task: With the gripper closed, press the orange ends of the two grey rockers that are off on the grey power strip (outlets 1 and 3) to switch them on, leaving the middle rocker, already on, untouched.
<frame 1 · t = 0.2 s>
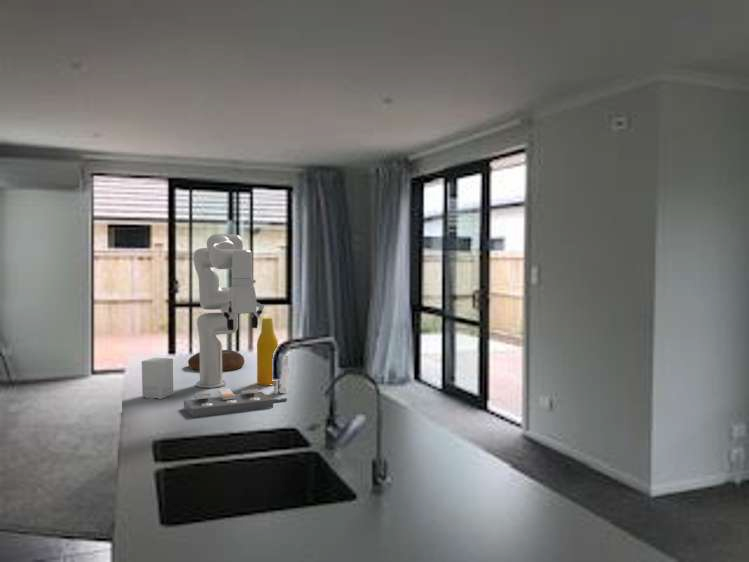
hand: (242, 328, 233), 30 cm above the worktop, tool pointing down, fingers open, 9 cm apart
outlet 1 rocker: (249, 390, 243), point 5 cm above the worktop, hinge at -14.0°
power strip: (228, 407, 236), on the worktop
bread: (216, 367, 315), on the worktop
beer bottle: (267, 383, 278), on the worktop
outlet 2 rocker: (226, 393, 238), point 5 cm above the worktop, hinge at 14.0°
beer glass: (280, 392, 261), on the worktop
supplement box: (158, 396, 254), on the worktop
outlet 3 rocker: (202, 396, 234), point 5 cm above the worktop, hinge at -14.0°
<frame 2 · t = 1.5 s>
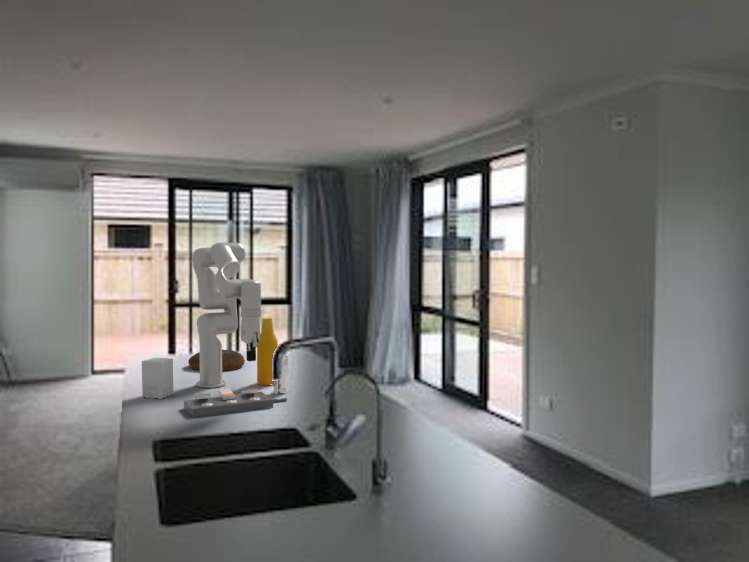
hand: (251, 360, 240), 17 cm above the worktop, tool pointing down, fingers closed
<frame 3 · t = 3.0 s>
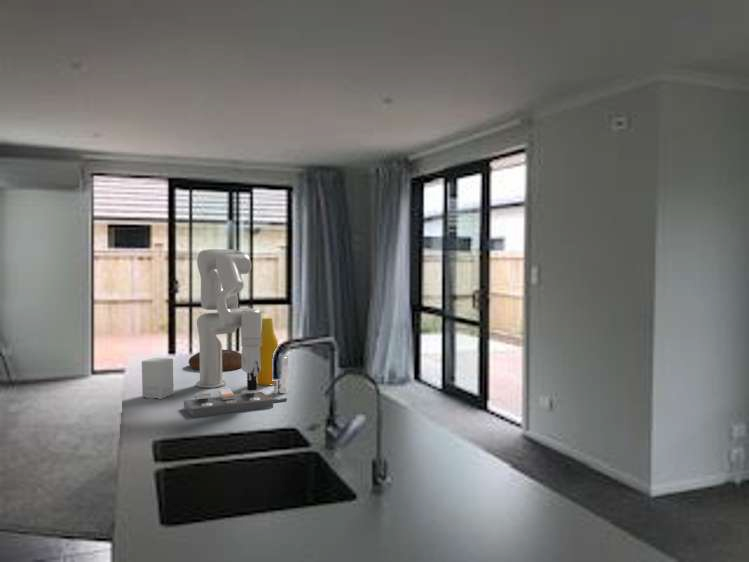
hand: (252, 389, 240), 6 cm above the worktop, tool pointing down, fingers closed
outlet 1 rocker: (249, 390, 243), point 5 cm above the worktop, hinge at -12.9°, touching gripper
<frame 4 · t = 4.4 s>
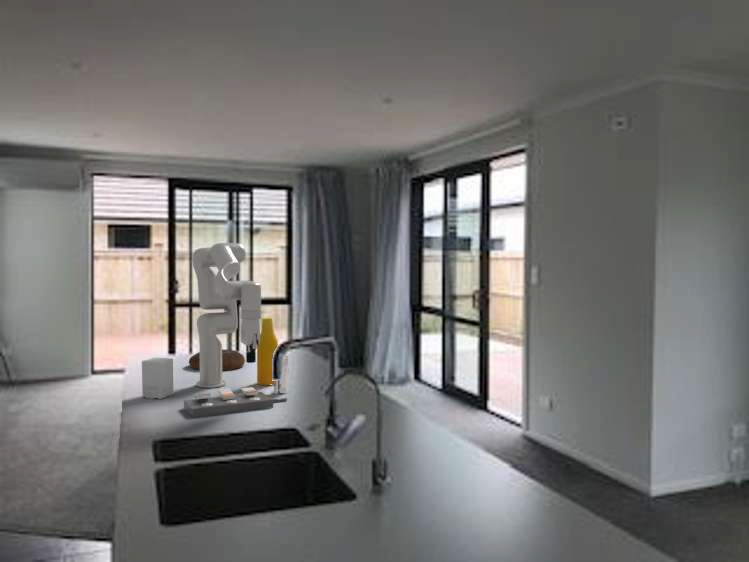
hand: (250, 362, 240), 16 cm above the worktop, tool pointing down, fingers closed
outlet 1 rocker: (249, 390, 242), point 5 cm above the worktop, hinge at 3.0°
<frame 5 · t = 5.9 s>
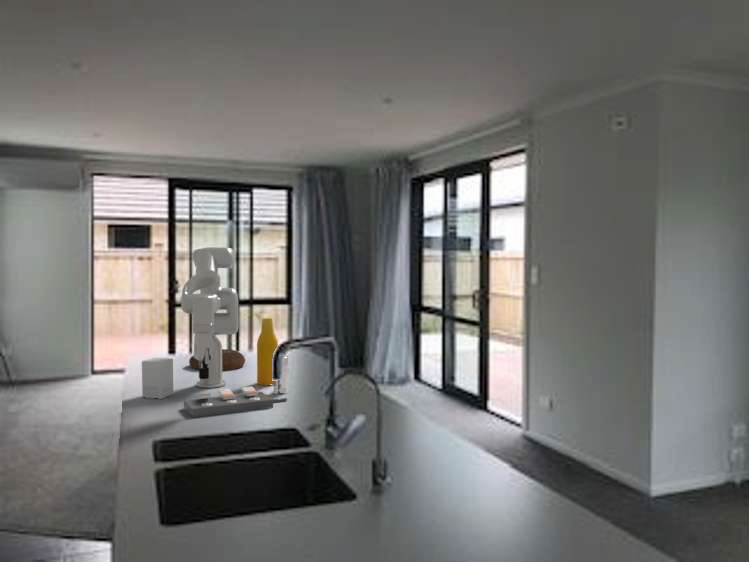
hand: (203, 378, 231), 12 cm above the worktop, tool pointing down, fingers closed
outlet 1 rocker: (249, 391, 242), point 5 cm above the worktop, hinge at 8.1°
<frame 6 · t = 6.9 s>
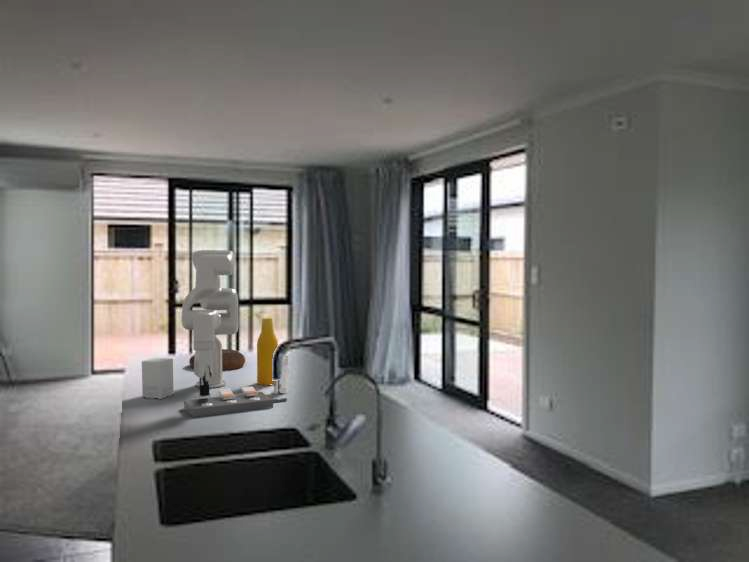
hand: (204, 395, 231), 6 cm above the worktop, tool pointing down, fingers closed
outlet 1 rocker: (249, 391, 242), point 5 cm above the worktop, hinge at 9.1°
outlet 3 rocker: (202, 396, 234), point 5 cm above the worktop, hinge at -12.7°, touching gripper
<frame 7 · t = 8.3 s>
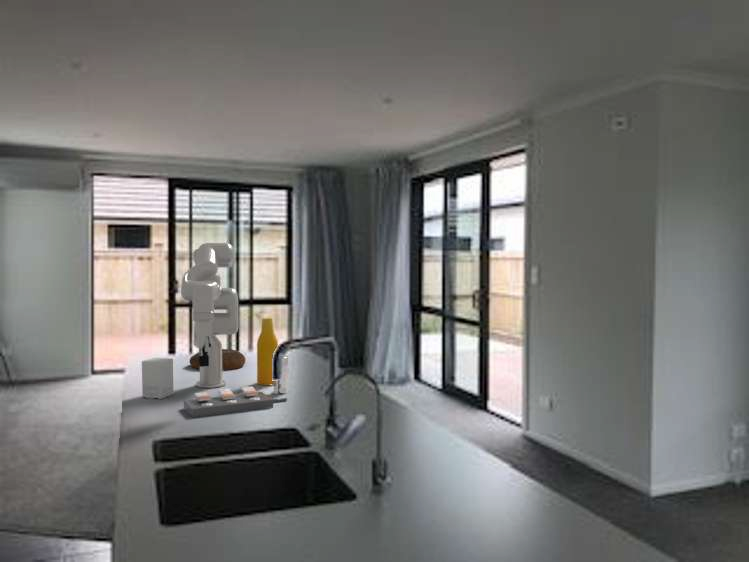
hand: (203, 365, 231), 17 cm above the worktop, tool pointing down, fingers closed
outlet 1 rocker: (249, 391, 242), point 5 cm above the worktop, hinge at 9.5°
outlet 3 rocker: (202, 396, 234), point 5 cm above the worktop, hinge at 4.5°
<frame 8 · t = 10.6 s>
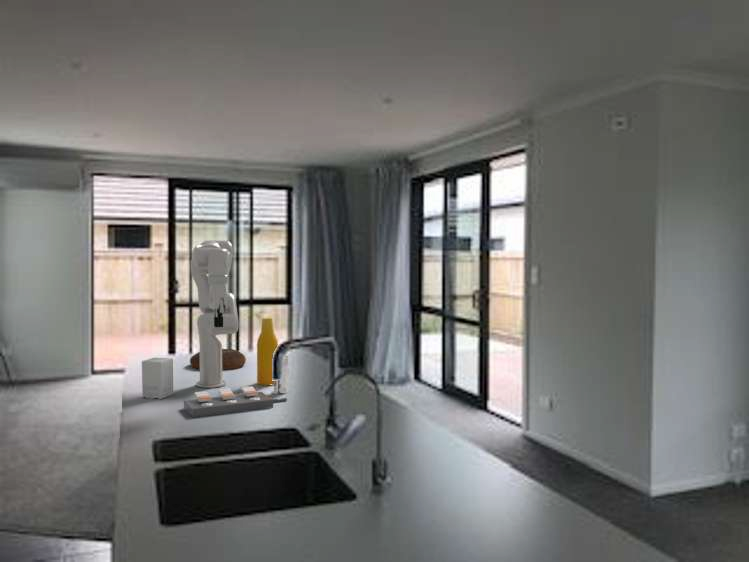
hand: (218, 326, 246), 29 cm above the worktop, tool pointing down, fingers closed
outlet 3 rocker: (202, 396, 234), point 5 cm above the worktop, hinge at 10.8°
at the end: outlet 1 rocker at +10° (first picture: -14°); outlet 3 rocker at +11° (first picture: -14°); outlet 2 rocker at +14° (first picture: +14°) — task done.
